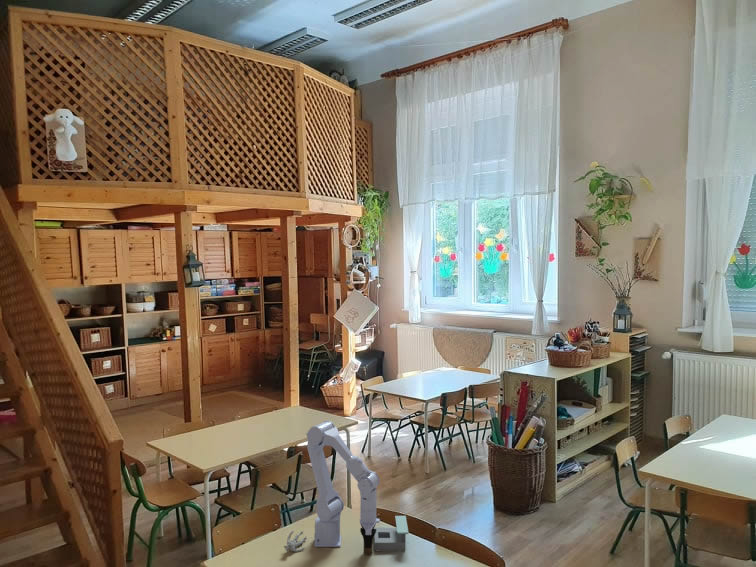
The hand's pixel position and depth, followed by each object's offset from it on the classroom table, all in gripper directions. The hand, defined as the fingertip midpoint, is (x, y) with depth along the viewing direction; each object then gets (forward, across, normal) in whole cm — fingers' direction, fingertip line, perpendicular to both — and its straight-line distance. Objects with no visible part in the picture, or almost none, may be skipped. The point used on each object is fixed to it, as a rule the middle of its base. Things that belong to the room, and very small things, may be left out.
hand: (368, 545), depth 196 cm
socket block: (+3, +7, -8) cm, 11 cm away
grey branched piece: (+3, +4, +26) cm, 27 cm away
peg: (+3, 0, 0) cm, 3 cm away
